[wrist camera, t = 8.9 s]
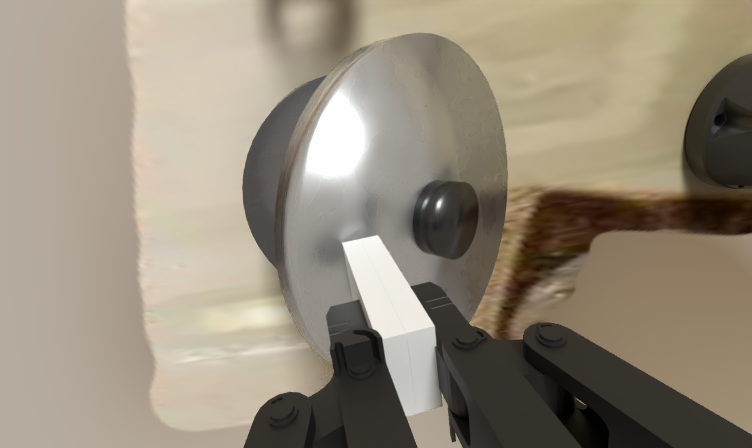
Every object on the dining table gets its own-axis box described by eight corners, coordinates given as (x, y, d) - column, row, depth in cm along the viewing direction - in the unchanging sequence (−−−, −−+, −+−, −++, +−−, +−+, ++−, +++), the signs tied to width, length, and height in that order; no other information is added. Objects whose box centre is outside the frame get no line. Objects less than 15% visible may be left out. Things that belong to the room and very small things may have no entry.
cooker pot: (427, 61, 36) (488, 49, 25) (444, 265, 44) (497, 326, 32) (237, 89, 33) (210, 90, 22) (291, 300, 41) (291, 379, 30)
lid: (482, 33, 24) (529, 23, 22) (491, 280, 31) (528, 290, 29) (218, 48, 12) (269, 31, 10) (323, 446, 19) (367, 482, 17)
